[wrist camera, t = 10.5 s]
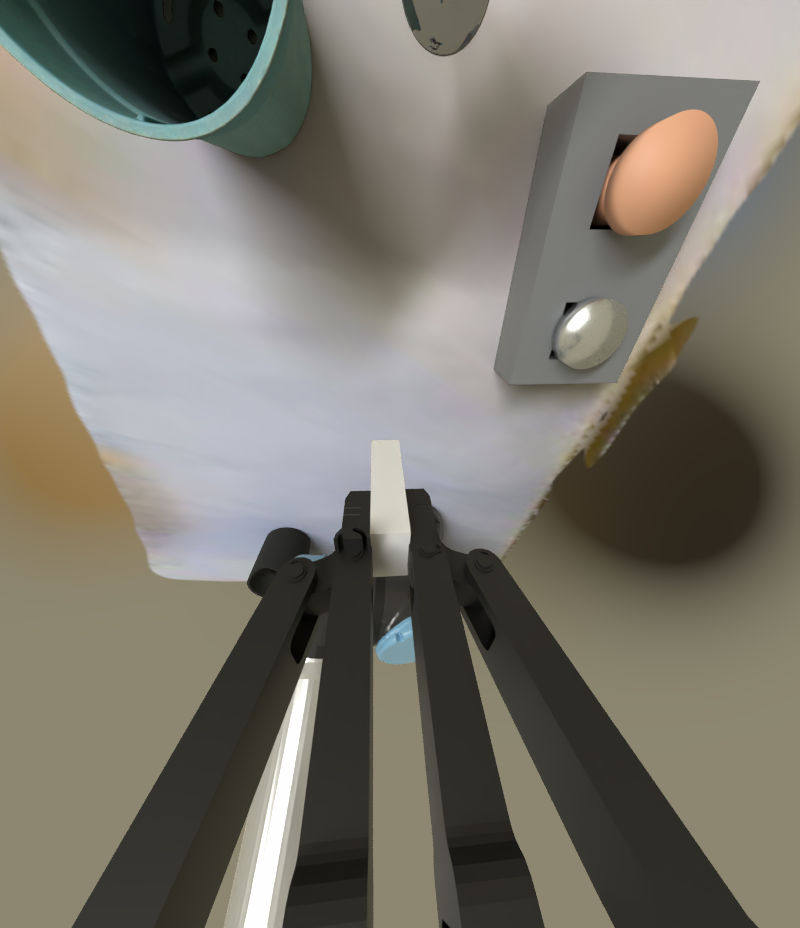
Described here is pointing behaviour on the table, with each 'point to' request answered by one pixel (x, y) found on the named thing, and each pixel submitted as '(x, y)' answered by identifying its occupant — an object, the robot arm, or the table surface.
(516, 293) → the press console
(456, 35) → the wine glass
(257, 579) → the pen holder
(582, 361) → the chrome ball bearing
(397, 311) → the table surface
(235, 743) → the robot arm
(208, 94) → the flower pot
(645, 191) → the peach rounded piece
